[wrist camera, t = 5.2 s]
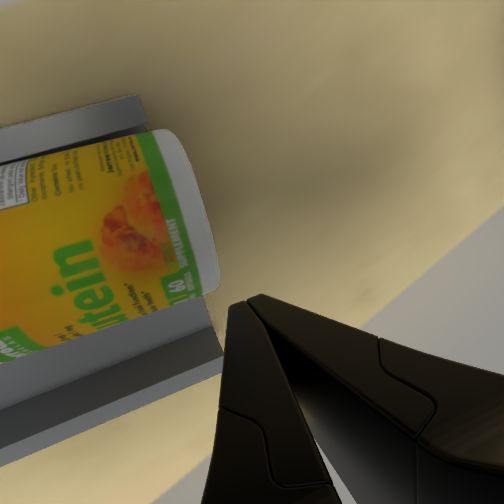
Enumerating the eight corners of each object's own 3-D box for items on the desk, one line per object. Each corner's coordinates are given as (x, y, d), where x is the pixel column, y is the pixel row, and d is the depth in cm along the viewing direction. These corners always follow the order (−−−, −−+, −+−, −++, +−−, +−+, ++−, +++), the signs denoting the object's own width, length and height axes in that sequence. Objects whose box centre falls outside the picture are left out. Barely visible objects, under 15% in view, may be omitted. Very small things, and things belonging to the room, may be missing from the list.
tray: (133, 93, 13) (138, 94, 11) (215, 335, 18) (229, 369, 16) (-287, 199, 10) (-391, 228, 8) (-57, 445, 16) (-84, 502, 13)
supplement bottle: (233, 321, 12) (-108, 446, 10) (191, 227, 16) (-63, 304, 14) (205, 177, 8) (-343, 326, 6) (160, 100, 12) (-192, 177, 10)
